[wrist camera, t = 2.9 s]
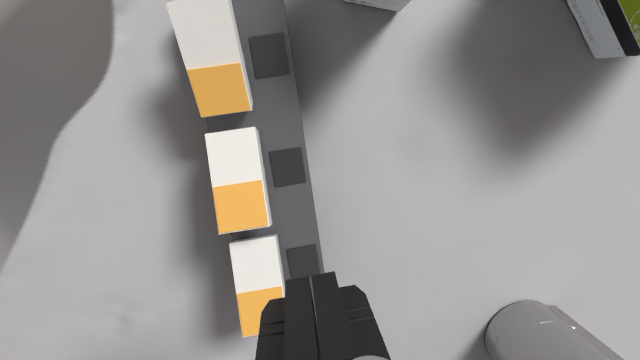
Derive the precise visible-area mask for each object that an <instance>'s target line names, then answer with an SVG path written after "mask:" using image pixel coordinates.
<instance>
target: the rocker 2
mask: <svg viewBox="0 0 640 360" xmlns="http://www.w3.org/2000/svg"><path fill="white" fill-rule="evenodd" d="M205 140H206V147H207V154H208V162H209V169H210V176H211V183H212V190H213V197H214V205H215V212H216V219H217V226H218V233H219V235H220V234H226V233H232V232H238V231H244V230H251V229H257V228H263V227H269V226H271V225H272V219H271V212H270V205H269V199H268V192H267V185H266V179H265V172H264V165H263V159H262V152H261V145H260V138H259V132H258V130H257V129H256V127H249V128H242V129H235V130H228V131H221V132H214V133H208V134H205Z"/></svg>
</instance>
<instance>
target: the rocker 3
mask: <svg viewBox="0 0 640 360" xmlns="http://www.w3.org/2000/svg"><path fill="white" fill-rule="evenodd" d="M229 247H230V254H231V261H232V268H233V275H234V282H235V289H236V297H237V304H238V311H239V318H240V325H241V332H242V338H244V337H249V336H255V335H259V328H260V319H261V312H262V310H263V309H264V307H265V306H266V305H267V303H268V302H269V300H271V299H277V298H283V297H285V283H284V276H283V270H282V263H281V256H280V250H279V243H278V236H277V234H273V235H267V236H261V237H255V238H249V239H243V240H237V241H233V242H231V243H229Z"/></svg>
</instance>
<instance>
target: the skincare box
mask: <svg viewBox="0 0 640 360" xmlns="http://www.w3.org/2000/svg"><path fill="white" fill-rule="evenodd" d="M343 1H347V2H352V3H357V4H362V5H367V6H372V7H377V8H382V9H387V10H392V11H401V10H402V9H403V8H404V7H405V6H406V5H407V4H408V3H409V2H410V1H411V0H343Z"/></svg>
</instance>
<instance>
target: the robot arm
mask: <svg viewBox="0 0 640 360" xmlns="http://www.w3.org/2000/svg"><path fill="white" fill-rule="evenodd" d="M311 279H312V287H313V295H314V302H313V296H312V290H311V284H310V278H309V276H305V277H299V278H293V279H287V280H285V297H283V298H277V299H271V300H269V302H268V303H267V305H266V306H265V307H264V309H263V310H262V312H261V319H260V328H259V335H258V337H259V339H258V342H257V350H256V358H255V360H391V359H390V356H389V354H388V351H387V349H386V346H385V343H384V341H383V338H382V336H381V333H380V330H379V328H378V325H377V323H376V320H375V318H374V315H373V312H372V310H371V308H370V305H369V302H368V299H367V297H366V294H365V293H364V292H363V291H361V290H360V289H359V288H358V287H356V286H355V285H352V286H346V287H340V288H339V287H338V283H337V279H336V275H335V272H334V271H333V272H328V273H322V274H316V275H311ZM314 303H315V309H314ZM315 311H316V315H315ZM316 319H317V321H316ZM485 344H486V348H487V351H488V353H489V354H490V355H491V357H492V358H493V359H494V360H624V359H623V358H621V357H620V356H619V355H617V354H616V353H615V352H614V351H612V350H611V349H610V348H609V347H607V346H606V345H605V344H604V343H602V342H601V341H600V340H598V339H597V338H596V337H595V336H593V335H592V334H591V333H590V332H588V331H587V330H586V329H584V328H583V327H582V326H581V325H579V324H578V323H577V322H576V321H574V320H573V319H572V318H571V317H569V316H568V315H567V314H565V313H564V312H563V311H562V310H560V309H559V308H558V307H557V306H551V307H548V306H545V305H543V304H541V303H539V302H535V301H521V302H517V303H514V304H511V305H509V306H507V307H505V308H504V309H502V310H501V311H500V312H499V313H498V314H496V316H495V317H494V318H493V319H492V320H491V322H490V324H489V326H488V328H487V331H486V335H485Z"/></svg>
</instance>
